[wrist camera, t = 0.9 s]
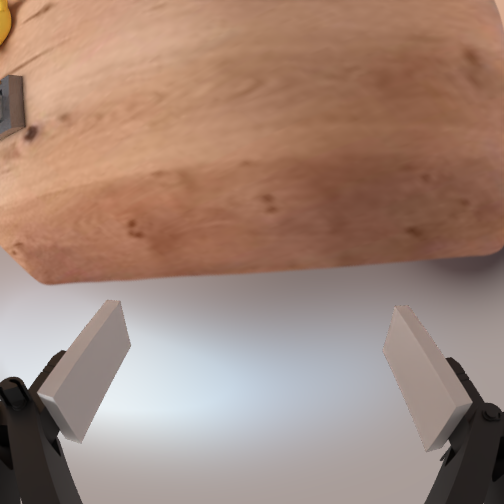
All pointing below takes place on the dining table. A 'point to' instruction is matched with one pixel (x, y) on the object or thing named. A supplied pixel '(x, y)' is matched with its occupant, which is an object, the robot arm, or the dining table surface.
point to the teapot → (4, 20)
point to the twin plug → (1, 110)
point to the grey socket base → (11, 105)
